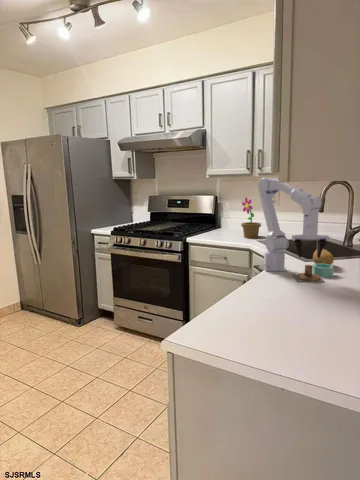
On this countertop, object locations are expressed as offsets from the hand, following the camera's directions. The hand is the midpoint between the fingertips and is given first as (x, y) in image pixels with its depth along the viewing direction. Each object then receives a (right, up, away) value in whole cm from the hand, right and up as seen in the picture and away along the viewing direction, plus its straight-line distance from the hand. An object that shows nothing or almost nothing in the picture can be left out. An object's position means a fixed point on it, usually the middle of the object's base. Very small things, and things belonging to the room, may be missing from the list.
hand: (309, 256), depth 138 cm
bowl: (+9, -8, +8) cm, 14 cm away
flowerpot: (-2, +9, +105) cm, 106 cm away
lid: (0, -9, +2) cm, 9 cm away
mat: (0, -10, +2) cm, 10 cm away
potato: (+15, -6, +21) cm, 26 cm away
